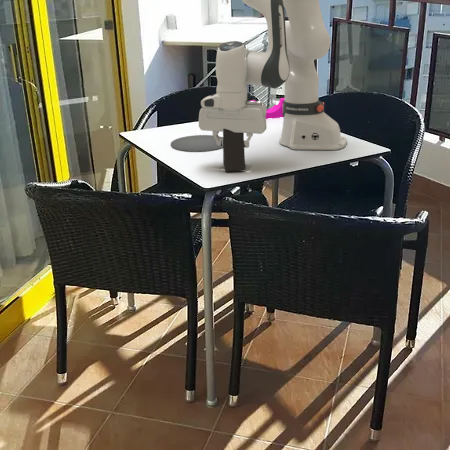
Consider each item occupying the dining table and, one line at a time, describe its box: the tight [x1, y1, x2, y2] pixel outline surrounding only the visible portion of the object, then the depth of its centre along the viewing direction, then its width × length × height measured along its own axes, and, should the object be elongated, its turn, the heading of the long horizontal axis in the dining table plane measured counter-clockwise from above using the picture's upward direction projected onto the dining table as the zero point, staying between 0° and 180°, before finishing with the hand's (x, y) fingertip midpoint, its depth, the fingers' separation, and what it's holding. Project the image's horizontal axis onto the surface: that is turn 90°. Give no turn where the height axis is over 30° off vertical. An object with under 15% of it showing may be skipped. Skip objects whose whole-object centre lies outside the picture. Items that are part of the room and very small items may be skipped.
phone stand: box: [222, 129, 246, 173], centre depth 190 cm, size 9×6×12 cm, turn 4°
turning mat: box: [170, 134, 223, 153], centre depth 217 cm, size 20×20×1 cm
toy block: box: [249, 97, 285, 120], centre depth 250 cm, size 15×6×8 cm, turn 102°
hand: (232, 146), depth 190 cm, fingers open, 7 cm apart
